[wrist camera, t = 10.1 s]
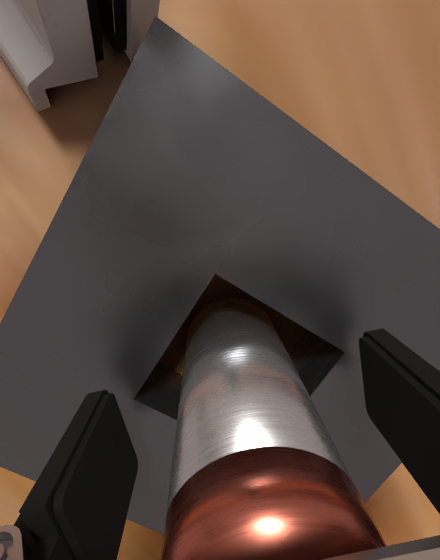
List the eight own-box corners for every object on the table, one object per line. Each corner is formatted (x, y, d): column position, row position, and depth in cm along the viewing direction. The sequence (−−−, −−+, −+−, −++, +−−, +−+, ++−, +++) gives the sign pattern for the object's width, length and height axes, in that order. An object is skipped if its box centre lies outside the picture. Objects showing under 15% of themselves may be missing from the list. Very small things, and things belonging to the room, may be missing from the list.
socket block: (-8, 392, 15) (-60, 442, 12) (167, 60, 11) (155, 15, 9) (273, 521, 18) (287, 585, 15) (476, 284, 14) (545, 307, 12)
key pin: (177, 308, 14) (118, 564, 4) (266, 288, 14) (402, 504, 4) (198, 385, 15) (187, 725, 6) (280, 367, 15) (415, 678, 5)
